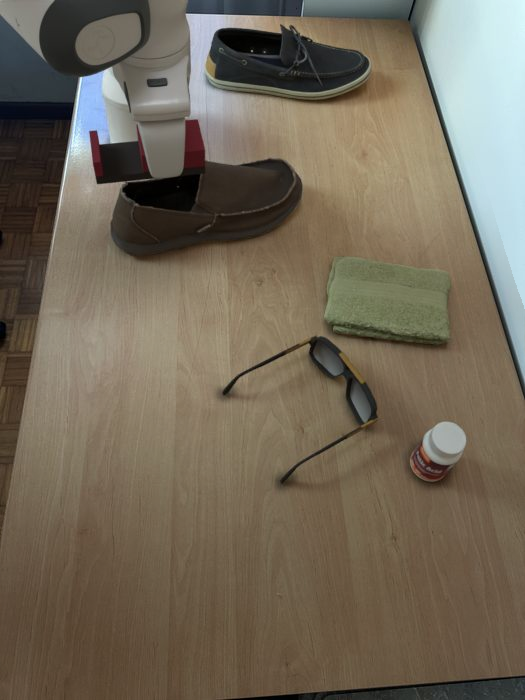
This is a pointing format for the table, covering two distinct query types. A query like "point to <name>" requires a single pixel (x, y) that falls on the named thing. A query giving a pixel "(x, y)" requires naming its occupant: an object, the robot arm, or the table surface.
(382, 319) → the washcloth
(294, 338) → the table surface
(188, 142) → the red and black block
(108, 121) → the jar
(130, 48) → the robot arm
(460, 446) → the pill bottle
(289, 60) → the boat shoe
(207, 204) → the loafer
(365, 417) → the sunglasses
